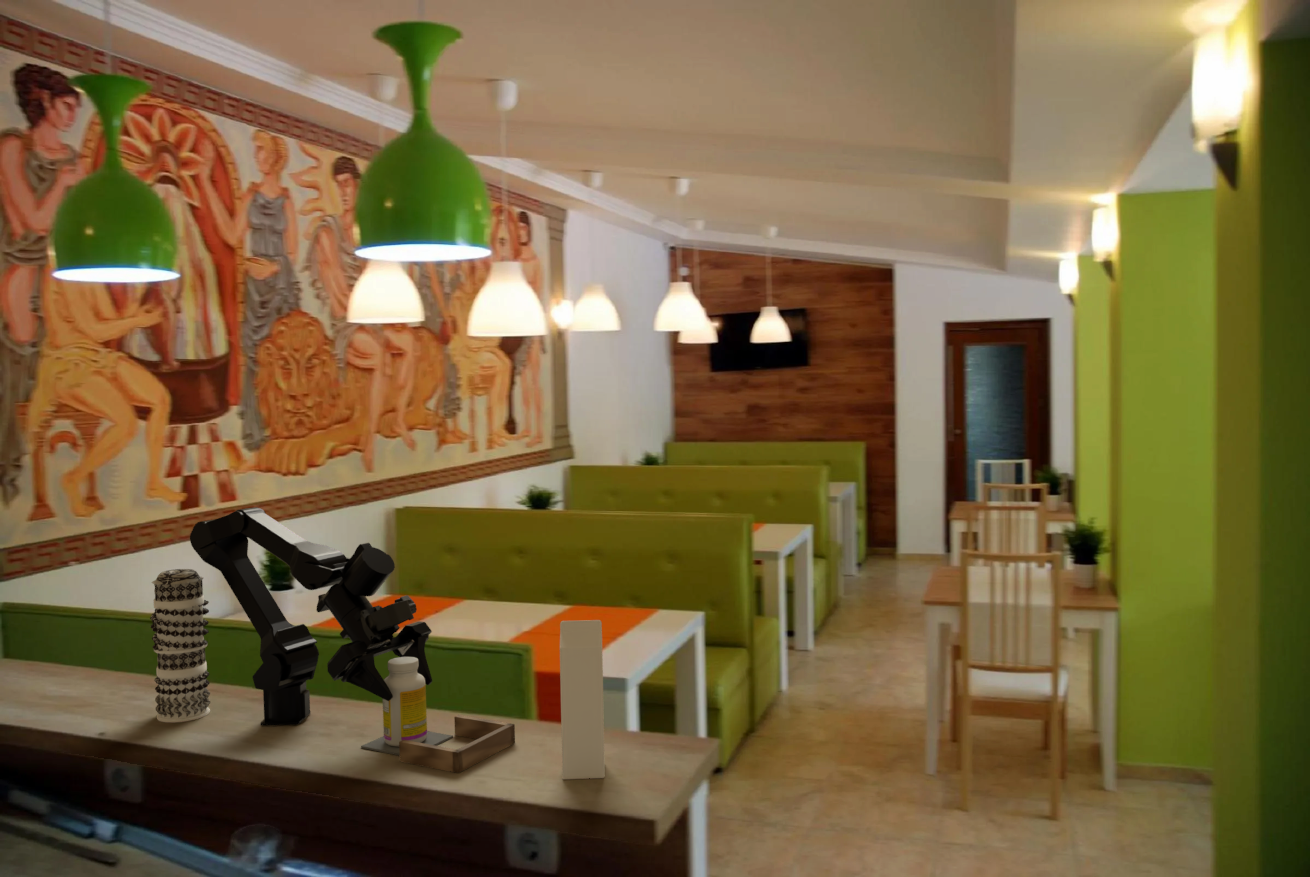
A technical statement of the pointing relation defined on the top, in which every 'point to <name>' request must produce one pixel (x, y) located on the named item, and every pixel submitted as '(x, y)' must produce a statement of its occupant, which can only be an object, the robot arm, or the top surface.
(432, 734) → the mat
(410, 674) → the supplement bottle
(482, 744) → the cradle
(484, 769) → the top surface
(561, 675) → the beige tall block
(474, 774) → the top surface
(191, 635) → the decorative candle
